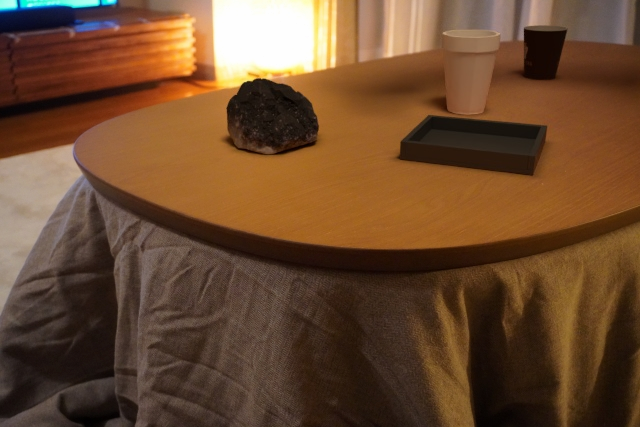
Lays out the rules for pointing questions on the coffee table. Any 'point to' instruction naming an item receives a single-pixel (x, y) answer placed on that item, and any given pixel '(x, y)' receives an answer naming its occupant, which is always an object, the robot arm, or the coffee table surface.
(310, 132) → the crystal cluster
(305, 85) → the coffee table surface
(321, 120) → the coffee table surface
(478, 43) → the foam cup
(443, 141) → the tray
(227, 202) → the coffee table surface
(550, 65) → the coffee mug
